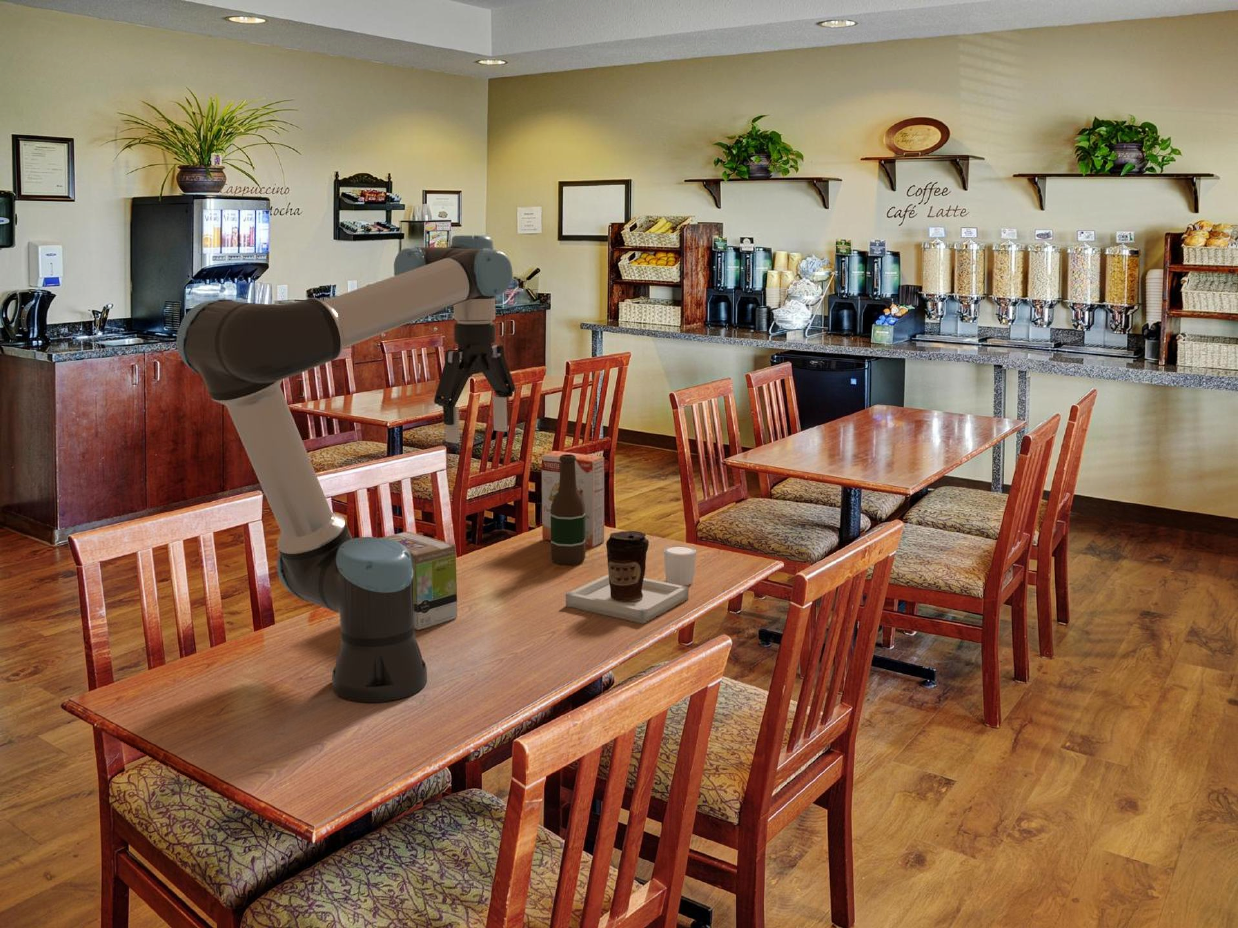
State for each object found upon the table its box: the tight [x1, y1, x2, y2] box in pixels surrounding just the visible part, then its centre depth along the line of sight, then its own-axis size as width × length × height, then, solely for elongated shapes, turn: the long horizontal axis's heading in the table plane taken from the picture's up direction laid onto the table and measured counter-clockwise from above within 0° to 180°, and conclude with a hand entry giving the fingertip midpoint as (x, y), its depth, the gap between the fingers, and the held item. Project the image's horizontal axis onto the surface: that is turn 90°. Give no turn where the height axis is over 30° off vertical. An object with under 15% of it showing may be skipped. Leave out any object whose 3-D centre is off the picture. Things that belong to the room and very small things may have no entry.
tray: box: [565, 573, 690, 625], centre depth 222 cm, size 17×18×2 cm
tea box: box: [377, 531, 458, 631], centre depth 213 cm, size 15×10×15 cm, turn 48°
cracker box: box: [541, 450, 605, 549], centre depth 262 cm, size 14×6×21 cm, turn 61°
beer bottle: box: [550, 454, 587, 567], centre depth 246 cm, size 8×8×24 cm
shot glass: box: [663, 545, 697, 586], centre depth 234 cm, size 7×7×7 cm
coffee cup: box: [605, 530, 650, 601], centre depth 220 cm, size 9×8×13 cm
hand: (477, 436), depth 208 cm, fingers open, 13 cm apart
